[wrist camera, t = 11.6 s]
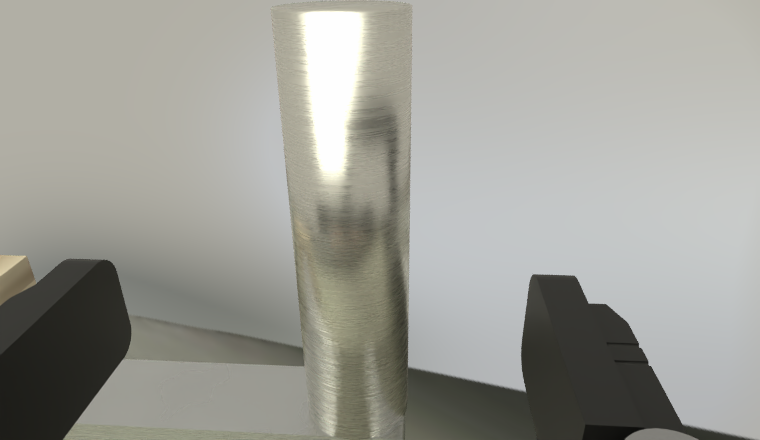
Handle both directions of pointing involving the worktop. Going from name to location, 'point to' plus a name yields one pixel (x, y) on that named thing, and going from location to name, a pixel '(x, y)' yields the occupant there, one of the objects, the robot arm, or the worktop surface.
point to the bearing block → (14, 276)
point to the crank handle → (312, 254)
